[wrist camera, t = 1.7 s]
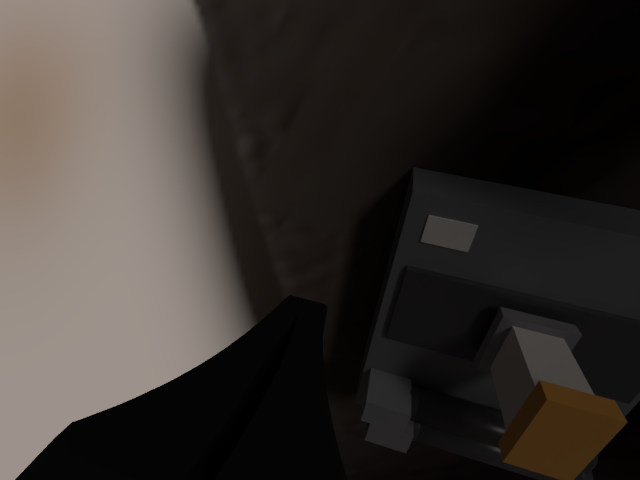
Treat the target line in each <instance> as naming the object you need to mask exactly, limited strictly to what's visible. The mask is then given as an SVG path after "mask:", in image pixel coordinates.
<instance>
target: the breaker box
mask: <svg viewBox="0 0 640 480" xmlns="http://www.w3.org/2000/svg"><path fill="white" fill-rule="evenodd" d="M500 307H504V308H508V309H512V310H516V311H520V312H524V313H528V314H532V315H536V316H540V317H545V318H549V319H553V320H557V321H561V322H565V323H569V324H573V325H576V326H577V328H578V330H579V331H580V333H581V334H582V336H581V338H580V339H579V341H578V342H577V344H576V345H575V347H574V348H573V350H572V351H571V352H572V354H573V356H574V358H575V360H576V362H577V364H578V365H579V367H580V369H581V371H582V373H583V375H584V376H585V378H586V380H587V382H588V384H589V386H590V388H591V389H592V391H593V393H594V395H596V396H600V397H604V398H607V399H611V400H615V402H616V403H617V405H618V407H619V408H620V410H621V412H622V413H623V415H624V417H625V416H626V415H627V414H628V413H629V412H630V411H631V410H632V409H633V407H634V406H635V405H636V404H637V403H638V402H639V401H640V210H636V209H630V208H625V207H620V206H615V205H609V204H604V203H599V202H594V201H589V200H583V199H578V198H573V197H568V196H562V195H557V194H552V193H547V192H542V191H536V190H531V189H526V188H521V187H515V186H510V185H505V184H500V183H494V182H489V181H484V180H479V179H474V178H468V177H463V176H458V175H453V174H447V173H442V172H437V171H432V170H427V169H421V168H416V167H413V170H412V174H411V178H410V181H409V185H408V189H407V193H406V196H405V200H404V204H403V208H402V211H401V215H400V219H399V223H398V226H397V230H396V234H395V238H394V241H393V245H392V249H391V253H390V256H389V260H388V264H387V268H386V271H385V275H384V279H383V283H382V286H381V290H380V294H379V297H378V301H377V305H376V309H375V312H374V316H373V320H372V324H371V327H370V331H369V335H368V339H367V342H366V346H365V350H364V354H363V358H362V363H361V369H360V375H359V380H358V386H357V391H356V397H355V403H358V404H361V405H363V409H362V416H361V421H364V422H367V427H366V434H365V440H366V441H369V442H372V443H376V444H379V445H382V446H385V447H388V448H391V449H394V450H397V451H401V452H404V453H407V450H408V448H409V446H410V444H411V441H412V440H413V441H416V442H419V443H422V444H426V445H429V446H432V447H435V448H438V449H442V450H445V451H448V452H451V453H454V454H458V455H461V456H464V457H467V458H470V459H474V460H477V461H480V462H483V463H486V464H489V465H493V466H496V467H499V468H502V469H505V470H509V471H512V472H515V473H518V474H521V475H525V476H528V477H531V478H534V479H537V480H559V479H556V478H553V477H550V476H546V475H543V474H540V473H537V472H533V471H530V470H527V469H524V468H521V467H517V466H514V465H511V464H508V463H504V462H503V460H502V456H501V451H500V446H499V440H500V439H501V437H502V436H503V434H504V433H505V431H506V428H505V424H504V420H503V416H502V412H501V408H500V404H499V400H498V396H497V392H496V388H495V384H494V380H493V376H492V374H490V373H487V372H483V371H479V370H476V367H475V362H474V358H475V356H476V354H477V352H478V350H479V348H480V346H481V344H482V342H483V340H484V338H485V336H486V334H487V332H488V330H489V328H490V326H491V324H492V322H493V320H494V318H495V316H496V314H497V312H498V310H499V308H500ZM597 463H598V454H597V455H596V457H595V458H594V459H593V460H592V461H591V462H590V463H589V464H588V465H587V466H586V467H585V468H584V469H583V470H582V471H581V473H580V474H579V475H578V476H577V477H576V478H575V479H574V480H593V473H592V470H593V469H594V468H595V467H596V465H597Z"/></svg>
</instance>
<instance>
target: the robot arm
mask: <svg viewBox="0 0 640 480" xmlns="http://www.w3.org/2000/svg"><path fill="white" fill-rule="evenodd" d="M326 314H327V306H326V305H325V304H322V303H318V302H314V301H311V300H307V299H303V298H299V297H295V296H291V295H290V296H288V297H286V298H285V299H284V300H283V301H282V302H281V303H280V304H279V305H278V306H277V307H276V308H275V309H274V310H273V311H272V312H271V313H270V314H268V315H267V316H266V317H265V318H264V319H263V320H261V321H260V322H259V323H258V324H257V325H255V326H254V327H253V328H252V329H251V330H250V331H248V332H247V333H246V334H244V335H243V336H241V337H240V338H239V339H238V340H236V341H235V342H233V343H232V344H231V345H229V346H228V347H227V348H225V349H224V350H222V351H221V352H219V353H218V354H216V355H215V356H213V357H212V358H210V359H208V360H207V361H205V362H204V363H202V364H200V365H199V366H197V367H195V368H193V369H192V370H190V371H188V372H186V373H184V374H183V375H181V376H179V377H178V378H176V379H174V380H172V381H170V382H168V383H166V384H164V385H162V386H160V387H157V388H155V389H153V390H151V391H149V392H147V393H145V394H143V395H140V396H138V397H136V398H134V399H132V400H129V401H127V402H125V403H122V404H120V405H117V406H115V407H112V408H110V409H107V410H105V411H102V412H99V413H96V414H94V415H91V416H89V417H86V418H83V419H81V420H78V421H75V422H72V423H71V424H70V425H69V426H68V427H67V428H65V429H64V430H63V431H62V432H61V433H60V434H59V435H58V436H57V437H55V438H54V439H53V441H52V442H51V443H50V444H49V445H48V446H47V447H46V448H45V449H44V450H43V451H42V452H41V453H40V454H39V455H38V456H37V457H36V458H35V459H34V460H33V461H32V463H31V464H30V465H29V466H28V467H27V468H26V469H25V470H24V471H23V472H22V473H21V474H20V475H19V476H18V477H17V478H16V479H15V480H347V478H346V474H345V471H344V468H343V464H342V461H341V457H340V453H339V449H338V445H337V441H336V437H335V433H334V429H333V424H332V419H331V414H330V409H329V404H328V398H327V391H326V384H325V375H324V364H323V331H324V325H325V319H326Z"/></svg>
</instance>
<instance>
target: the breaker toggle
mask: <svg viewBox="0 0 640 480" xmlns="http://www.w3.org/2000/svg"><path fill="white" fill-rule="evenodd" d="M581 336H582V334H581V333H580V331H579V330H578V328H577V326H576V325H573V324H569V323H565V322H561V321H557V320H553V319H549V318H545V317H540V316H536V315H532V314H528V313H524V312H520V311H516V310H512V309H508V308H504V307H500V308H499V310H498V312H497V314H496V316H495V318H494V320H493V322H492V324H491V326H490V328H489V330H488V332H487V334H486V336H485V338H484V340H483V342H482V344H481V346H480V348H479V350H478V352H477V354H476V356H475V358H474V362H475V367H476V370H479V371H483V372H487V373H490V374H492V376H493V380H494V384H495V388H496V392H497V396H498V400H499V404H500V408H501V412H502V416H503V420H504V424H505V428H506V431H505V433H504V434H503V436H502V437H501V439H500V440H499V446H500V451H501V456H502V460H503V462H504V463H508V464H511V465H514V466H517V467H521V468H524V469H527V470H530V471H533V472H537V473H540V474H543V475H546V476H550V477H553V478H556V479H559V480H574V479H575V478H576V477H577V476H578V475H579V474H580V473H581V471H582V470H583V469H584V468H585V467H586V466H587V465H588V464H589V463H590V462H591V461H592V460H593V459H594V458H595V457H596V455H597V454H598V453H599V452H600V451H601V450H602V449H603V448H604V447H605V446H606V445H607V444H608V443H609V442H610V441H611V439H612V438H613V437H614V436H615V435H616V434H617V433H618V432H619V431H620V430H621V429H622V428H623V427H624V426H625V425H626V424H627V420H626V418H625V417H624V415H623V413H622V412H621V410H620V408H619V407H618V405H617V403H616V402H615V400H611V399H607V398H604V397H600V396H596V395H594V393H593V391H592V389H591V388H590V386H589V384H588V382H587V380H586V378H585V376H584V375H583V373H582V371H581V369H580V367H579V365H578V364H577V362H576V360H575V358H574V356H573V354H572V352H571V351H572V350H573V348H574V347H575V345H576V344H577V342H578V341H579V339H580V338H581Z"/></svg>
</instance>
